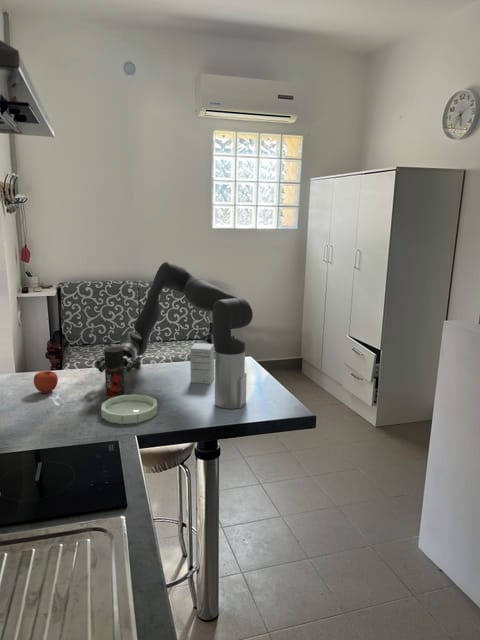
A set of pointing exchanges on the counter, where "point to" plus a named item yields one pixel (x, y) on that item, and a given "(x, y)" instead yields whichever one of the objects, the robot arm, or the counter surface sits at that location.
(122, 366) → the deodorant
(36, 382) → the apple
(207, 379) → the supplement box
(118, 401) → the round tray
